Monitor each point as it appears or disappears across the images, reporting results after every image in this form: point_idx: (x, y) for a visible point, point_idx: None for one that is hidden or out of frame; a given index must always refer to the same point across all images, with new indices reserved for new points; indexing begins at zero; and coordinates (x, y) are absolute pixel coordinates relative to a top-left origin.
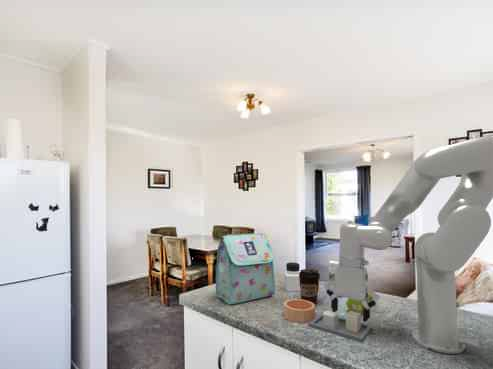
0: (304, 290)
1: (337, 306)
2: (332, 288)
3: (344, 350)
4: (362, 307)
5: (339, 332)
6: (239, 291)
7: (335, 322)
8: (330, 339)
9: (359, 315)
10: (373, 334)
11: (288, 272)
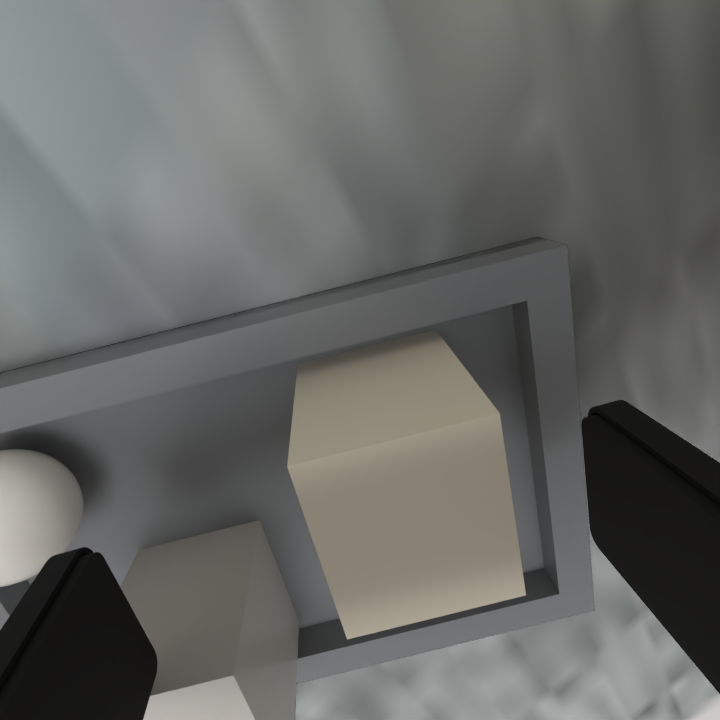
0: None
1: (71, 619)
2: None
3: (508, 715)
4: None
5: (381, 659)
6: None
7: (279, 661)
8: (347, 686)
9: (506, 480)
10: (583, 321)
11: None
